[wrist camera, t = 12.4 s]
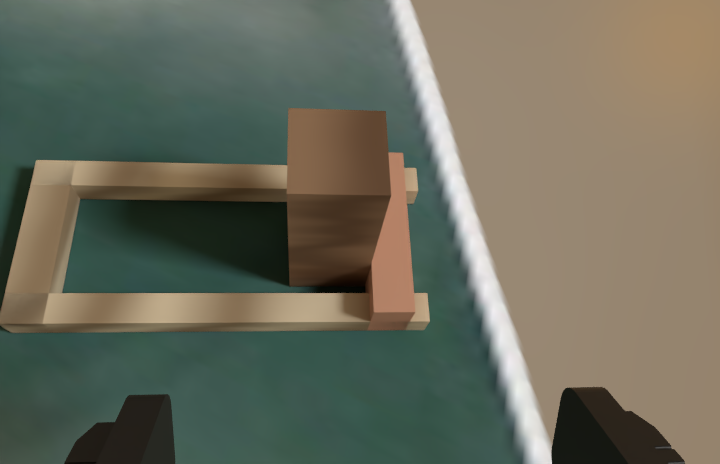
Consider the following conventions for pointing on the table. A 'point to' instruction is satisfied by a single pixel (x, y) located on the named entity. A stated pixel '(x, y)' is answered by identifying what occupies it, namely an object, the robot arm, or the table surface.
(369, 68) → the table surface
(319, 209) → the block
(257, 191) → the frame
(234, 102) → the table surface
